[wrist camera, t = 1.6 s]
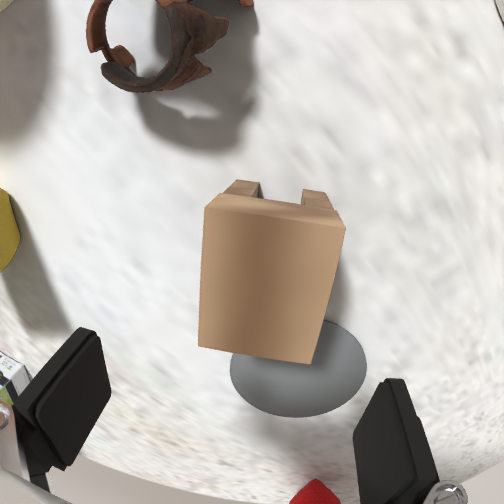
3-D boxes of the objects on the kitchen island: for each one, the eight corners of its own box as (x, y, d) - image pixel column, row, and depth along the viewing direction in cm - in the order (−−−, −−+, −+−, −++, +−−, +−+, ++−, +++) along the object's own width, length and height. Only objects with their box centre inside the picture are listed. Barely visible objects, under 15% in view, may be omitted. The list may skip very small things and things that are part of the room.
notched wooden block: (326, 191, 20) (345, 228, 13) (306, 291, 23) (310, 364, 16) (236, 178, 21) (204, 207, 13) (226, 278, 24) (198, 346, 16)
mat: (384, 326, 24) (385, 329, 23) (343, 418, 28) (343, 421, 28) (236, 306, 24) (236, 309, 24) (226, 404, 29) (225, 407, 29)
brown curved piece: (289, 31, 17) (236, 55, 12) (192, 86, 23) (125, 131, 18) (198, -87, 11) (113, -99, 6) (118, -15, 17) (38, 7, 12)
